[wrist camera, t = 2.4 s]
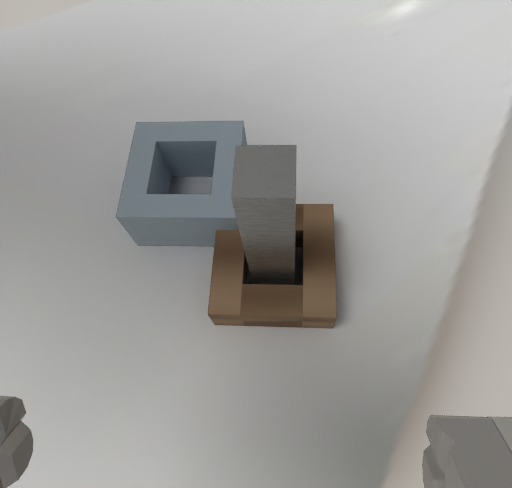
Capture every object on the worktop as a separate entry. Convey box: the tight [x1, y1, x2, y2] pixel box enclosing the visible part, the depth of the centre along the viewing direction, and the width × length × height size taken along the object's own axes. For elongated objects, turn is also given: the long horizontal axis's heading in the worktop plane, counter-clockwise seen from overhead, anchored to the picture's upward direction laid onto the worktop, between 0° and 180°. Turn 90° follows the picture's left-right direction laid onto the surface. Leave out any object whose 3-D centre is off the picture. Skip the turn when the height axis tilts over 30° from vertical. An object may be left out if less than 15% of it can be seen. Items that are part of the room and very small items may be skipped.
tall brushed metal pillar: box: [231, 145, 296, 285], centre depth 28 cm, size 3×3×14 cm
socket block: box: [208, 204, 337, 328], centre depth 33 cm, size 9×9×3 cm
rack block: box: [116, 121, 247, 246], centre depth 36 cm, size 9×9×5 cm
